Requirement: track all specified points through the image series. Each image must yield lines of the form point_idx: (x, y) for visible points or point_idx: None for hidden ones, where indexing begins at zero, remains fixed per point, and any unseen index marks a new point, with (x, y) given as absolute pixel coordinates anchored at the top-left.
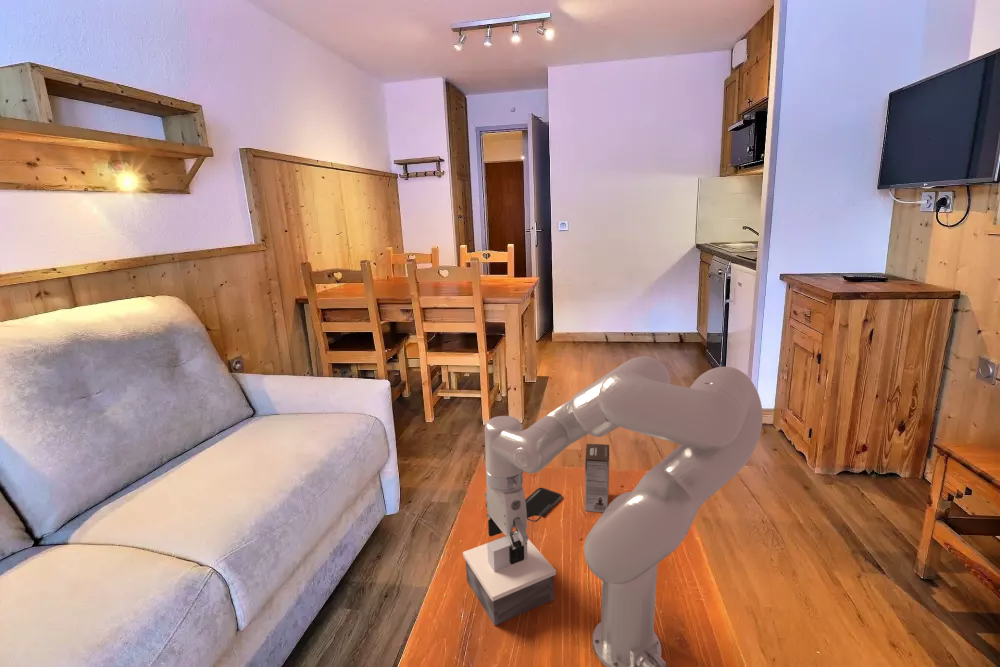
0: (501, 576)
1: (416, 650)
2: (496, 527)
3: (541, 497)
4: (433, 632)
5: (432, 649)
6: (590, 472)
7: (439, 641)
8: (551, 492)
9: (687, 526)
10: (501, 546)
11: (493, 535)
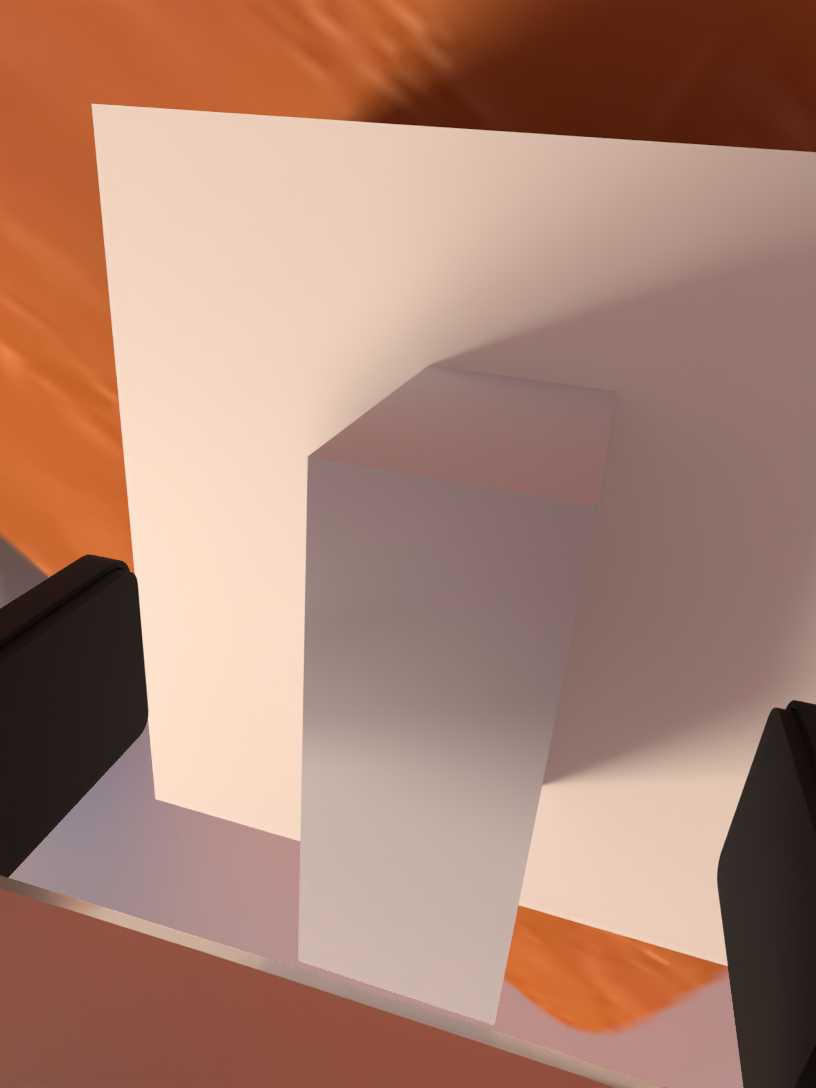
0: (641, 784)
1: (562, 1022)
2: (65, 715)
3: None
4: (519, 931)
5: (610, 986)
6: None
7: (590, 945)
8: None
9: None
10: (471, 907)
11: (144, 691)
